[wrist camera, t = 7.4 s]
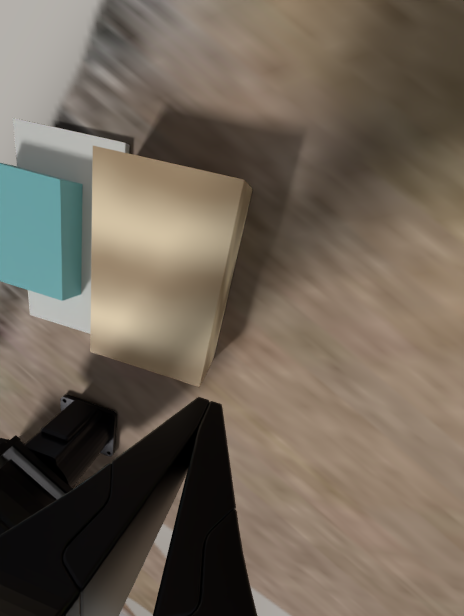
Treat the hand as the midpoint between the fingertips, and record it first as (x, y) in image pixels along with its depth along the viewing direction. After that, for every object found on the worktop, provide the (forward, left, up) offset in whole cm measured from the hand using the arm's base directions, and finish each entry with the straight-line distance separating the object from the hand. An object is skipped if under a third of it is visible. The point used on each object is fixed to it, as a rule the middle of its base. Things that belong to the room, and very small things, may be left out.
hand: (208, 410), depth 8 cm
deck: (+1, +6, -12) cm, 14 cm away
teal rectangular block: (+1, +18, -10) cm, 20 cm away
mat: (+1, +16, -12) cm, 20 cm away
